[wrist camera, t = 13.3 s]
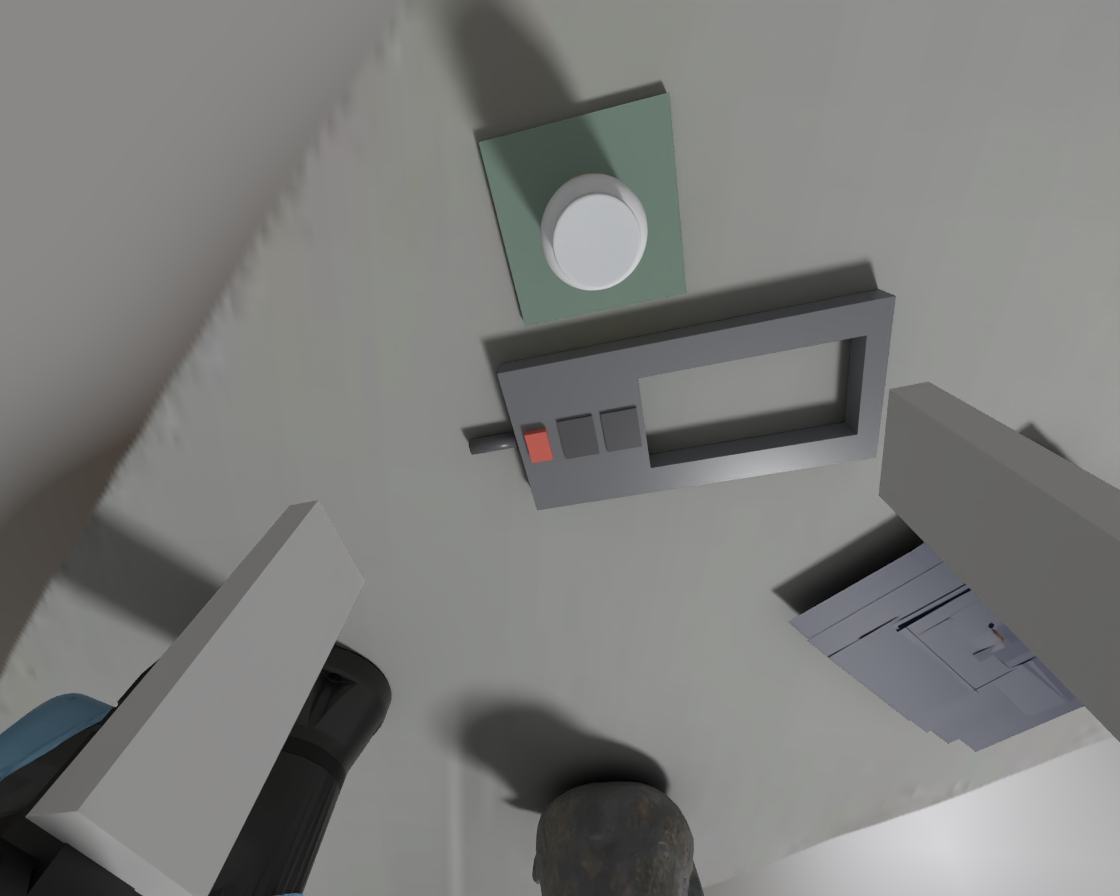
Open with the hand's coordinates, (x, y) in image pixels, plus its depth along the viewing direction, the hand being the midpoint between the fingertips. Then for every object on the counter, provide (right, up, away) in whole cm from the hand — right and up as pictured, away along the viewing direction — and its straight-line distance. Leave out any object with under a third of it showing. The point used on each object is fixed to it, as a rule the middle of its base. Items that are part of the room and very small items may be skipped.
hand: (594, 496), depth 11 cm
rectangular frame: (+7, +4, +26) cm, 27 cm away
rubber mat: (+1, +15, +19) cm, 25 cm away
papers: (+40, -15, +36) cm, 55 cm away
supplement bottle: (+1, +15, +19) cm, 24 cm away
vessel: (+5, -47, +55) cm, 72 cm away
